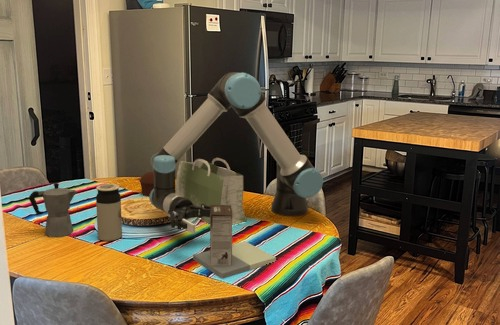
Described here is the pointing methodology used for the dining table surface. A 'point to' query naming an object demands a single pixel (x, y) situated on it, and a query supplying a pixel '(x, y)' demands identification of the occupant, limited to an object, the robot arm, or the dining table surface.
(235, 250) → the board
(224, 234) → the coffee box
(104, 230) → the travel mug
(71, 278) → the dining table surface
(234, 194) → the grocery bag
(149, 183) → the muffin
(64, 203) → the coffeepot
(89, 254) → the dining table surface
